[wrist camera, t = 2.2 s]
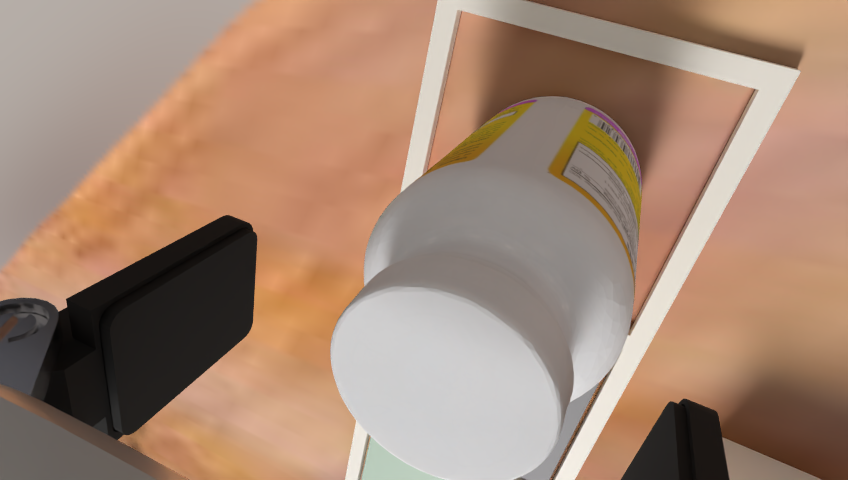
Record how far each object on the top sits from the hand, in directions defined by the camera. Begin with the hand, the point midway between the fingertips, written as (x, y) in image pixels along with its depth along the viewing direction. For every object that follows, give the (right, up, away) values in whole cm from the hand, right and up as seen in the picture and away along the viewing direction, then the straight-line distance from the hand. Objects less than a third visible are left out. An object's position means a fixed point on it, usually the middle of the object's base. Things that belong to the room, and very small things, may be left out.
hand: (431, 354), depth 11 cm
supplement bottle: (+5, +5, +9) cm, 12 cm away
